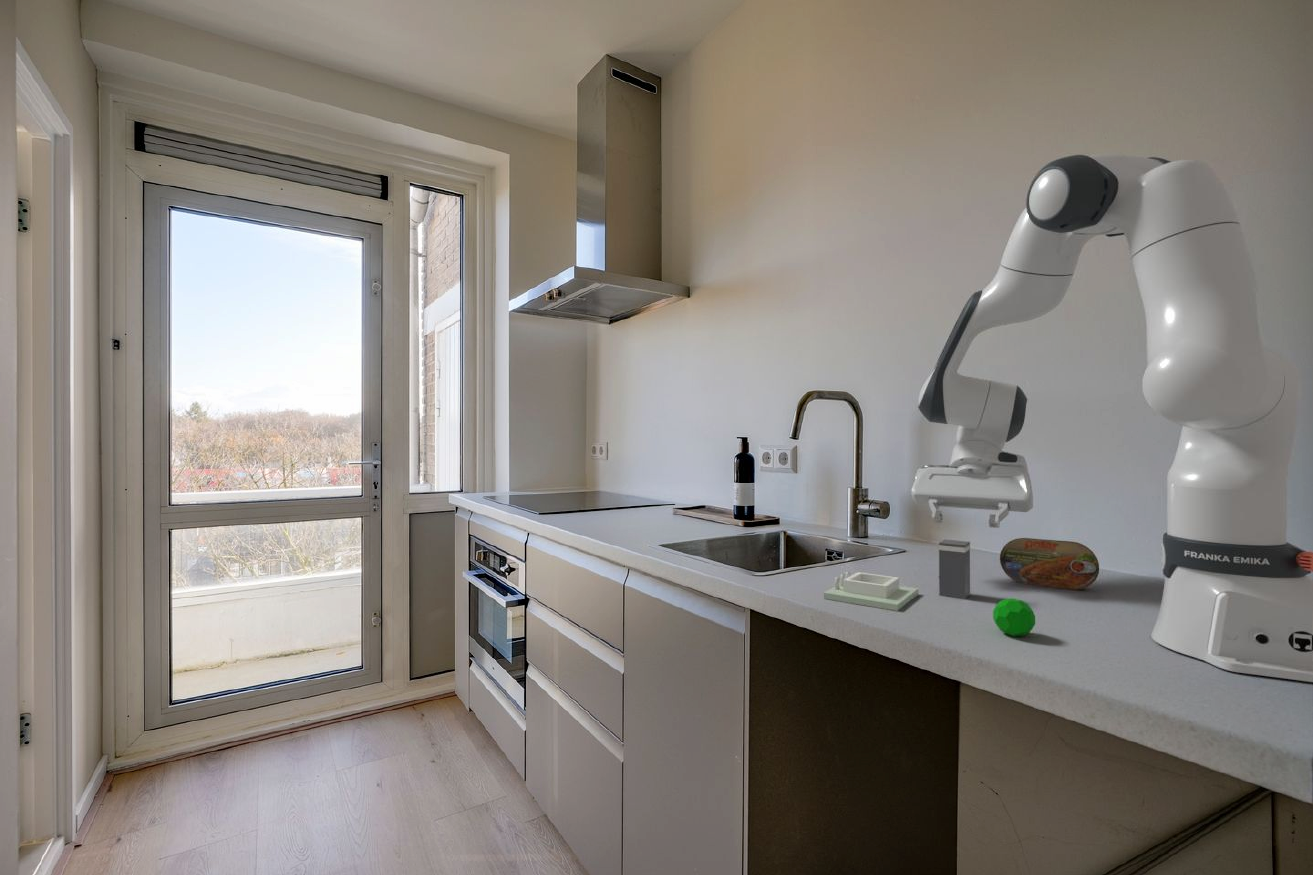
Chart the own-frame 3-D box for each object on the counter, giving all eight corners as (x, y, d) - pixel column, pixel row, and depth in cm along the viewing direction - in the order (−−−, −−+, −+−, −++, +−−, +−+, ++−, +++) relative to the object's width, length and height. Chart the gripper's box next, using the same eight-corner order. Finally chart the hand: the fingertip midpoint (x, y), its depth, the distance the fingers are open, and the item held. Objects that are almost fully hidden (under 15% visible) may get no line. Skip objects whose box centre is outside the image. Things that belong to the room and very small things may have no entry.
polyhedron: (1000, 626, 87) (1000, 593, 87) (1039, 634, 83) (1039, 599, 83) (988, 634, 83) (987, 599, 83) (1028, 643, 80) (1028, 607, 80)
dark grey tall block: (970, 593, 104) (970, 541, 104) (965, 599, 100) (965, 545, 100) (944, 590, 106) (944, 539, 106) (938, 595, 103) (938, 542, 103)
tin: (999, 580, 113) (999, 535, 113) (1002, 577, 115) (1002, 533, 115) (1099, 593, 103) (1098, 544, 103) (1100, 589, 106) (1100, 542, 106)
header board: (918, 594, 104) (918, 576, 104) (897, 611, 94) (897, 591, 94) (849, 583, 111) (849, 567, 111) (823, 598, 102) (823, 580, 102)
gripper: (915, 454, 121) (901, 508, 114) (1034, 456, 109) (1027, 516, 101) (921, 475, 125) (908, 528, 117) (1037, 479, 112) (1030, 539, 105)
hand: (964, 523), depth 109 cm, fingers open, 8 cm apart
